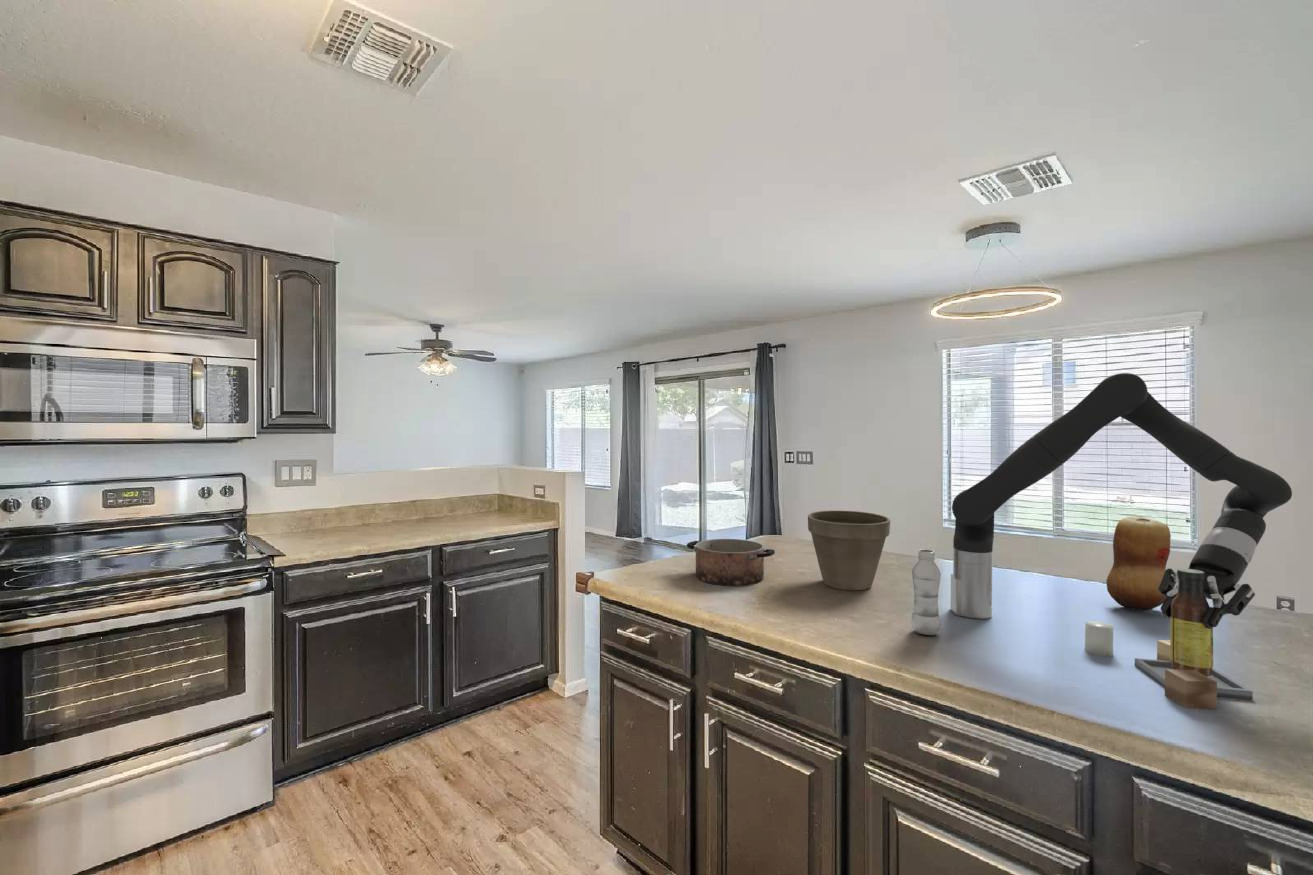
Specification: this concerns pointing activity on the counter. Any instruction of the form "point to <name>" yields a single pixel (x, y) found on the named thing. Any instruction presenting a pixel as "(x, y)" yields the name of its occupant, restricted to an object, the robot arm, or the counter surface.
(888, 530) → the plant pot
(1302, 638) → the counter surface
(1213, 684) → the walnut block
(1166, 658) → the oak block
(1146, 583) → the butternut squash
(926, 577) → the plastic bottle
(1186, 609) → the sauce bottle
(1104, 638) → the white rounded cylinder
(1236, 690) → the tray
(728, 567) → the cooking pot
